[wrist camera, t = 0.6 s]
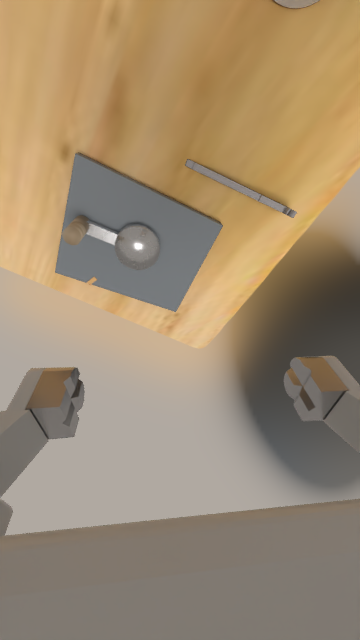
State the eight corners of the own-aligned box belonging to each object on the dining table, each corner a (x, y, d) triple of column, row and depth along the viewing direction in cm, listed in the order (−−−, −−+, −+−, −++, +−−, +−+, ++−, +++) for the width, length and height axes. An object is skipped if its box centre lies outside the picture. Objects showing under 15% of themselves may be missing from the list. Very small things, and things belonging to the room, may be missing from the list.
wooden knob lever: (166, 234, 43) (167, 248, 38) (150, 271, 48) (150, 288, 42) (79, 196, 38) (67, 206, 33) (70, 241, 43) (58, 256, 37)
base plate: (78, 152, 37) (75, 153, 35) (220, 222, 45) (223, 226, 43) (58, 268, 48) (54, 273, 46) (174, 307, 56) (175, 313, 55)
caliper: (286, 205, 45) (302, 214, 40) (282, 211, 45) (298, 220, 40) (187, 158, 39) (192, 161, 34) (184, 165, 39) (189, 170, 34)
